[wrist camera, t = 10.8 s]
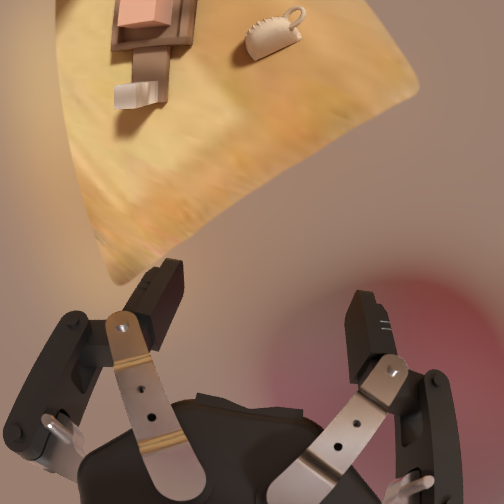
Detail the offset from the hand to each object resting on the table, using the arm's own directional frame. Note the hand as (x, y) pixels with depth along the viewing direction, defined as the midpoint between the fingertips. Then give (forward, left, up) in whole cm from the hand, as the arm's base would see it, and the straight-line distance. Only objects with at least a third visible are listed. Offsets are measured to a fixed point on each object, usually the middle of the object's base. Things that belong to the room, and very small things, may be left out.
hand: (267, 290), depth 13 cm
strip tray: (-14, -19, -28) cm, 37 cm away
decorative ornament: (-14, -3, -29) cm, 32 cm away
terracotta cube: (-18, -19, -27) cm, 38 cm away
